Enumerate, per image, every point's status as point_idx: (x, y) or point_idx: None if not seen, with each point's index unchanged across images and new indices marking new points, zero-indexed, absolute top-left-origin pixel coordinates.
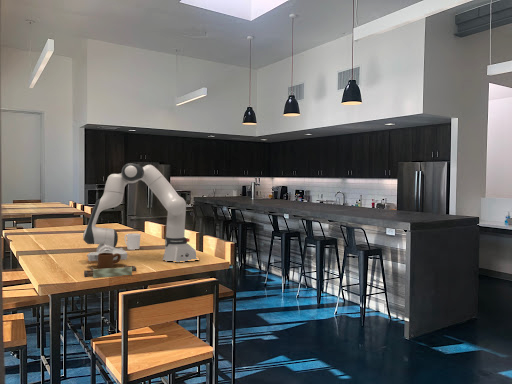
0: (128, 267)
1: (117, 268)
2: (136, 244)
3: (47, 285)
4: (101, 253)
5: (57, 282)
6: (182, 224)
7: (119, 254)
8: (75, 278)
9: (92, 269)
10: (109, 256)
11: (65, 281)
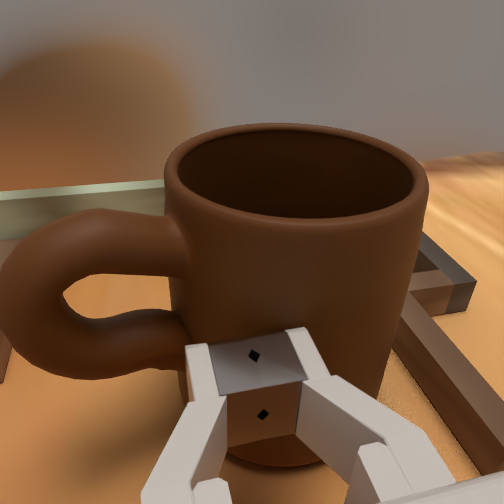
0: (24, 196)
1: (137, 182)
2: None
3: (498, 156)
4: (400, 201)
5: (492, 179)
6: None
7: (21, 241)
8: (446, 223)
9: (416, 314)
10: (221, 147)
11: (461, 187)
